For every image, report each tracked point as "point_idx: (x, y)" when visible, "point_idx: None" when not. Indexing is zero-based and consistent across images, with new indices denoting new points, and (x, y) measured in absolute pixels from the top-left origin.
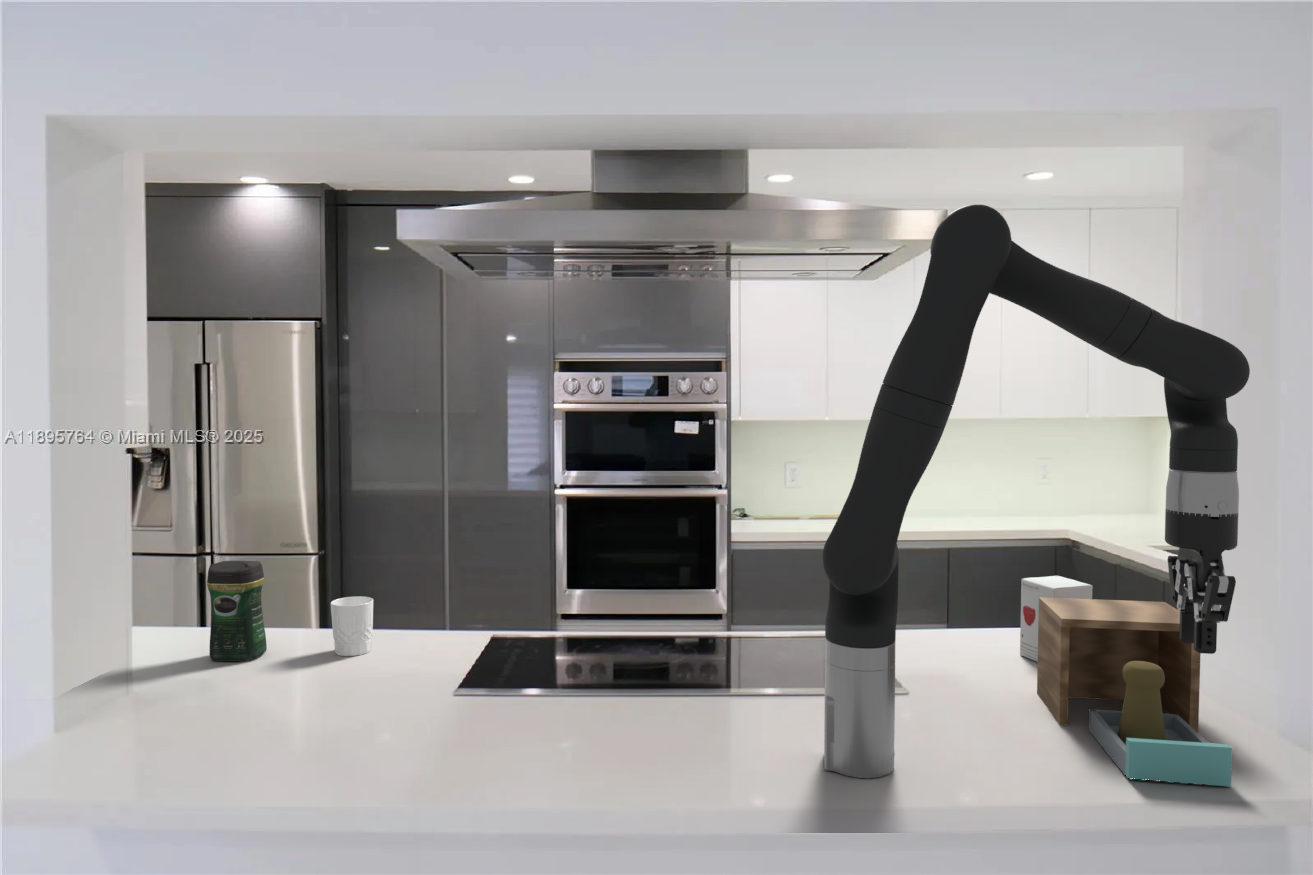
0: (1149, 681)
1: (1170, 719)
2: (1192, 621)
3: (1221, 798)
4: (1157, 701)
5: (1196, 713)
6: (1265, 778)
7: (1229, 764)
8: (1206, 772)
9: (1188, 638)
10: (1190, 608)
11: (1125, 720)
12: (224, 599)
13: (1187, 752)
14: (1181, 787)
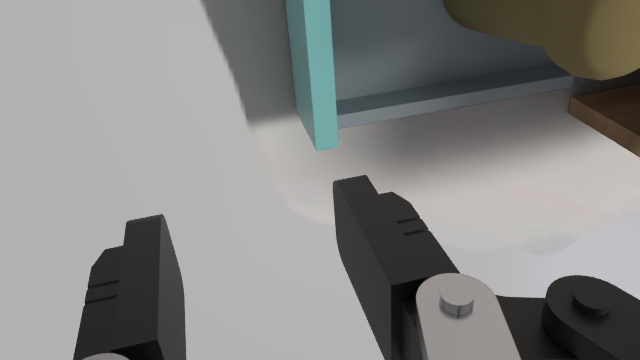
0: (549, 21)
1: None
2: (370, 298)
3: (241, 82)
4: (521, 32)
5: (597, 125)
6: None
7: (307, 129)
8: (297, 76)
9: (339, 216)
10: (416, 353)
11: None
12: None
13: (303, 48)
14: (275, 12)
